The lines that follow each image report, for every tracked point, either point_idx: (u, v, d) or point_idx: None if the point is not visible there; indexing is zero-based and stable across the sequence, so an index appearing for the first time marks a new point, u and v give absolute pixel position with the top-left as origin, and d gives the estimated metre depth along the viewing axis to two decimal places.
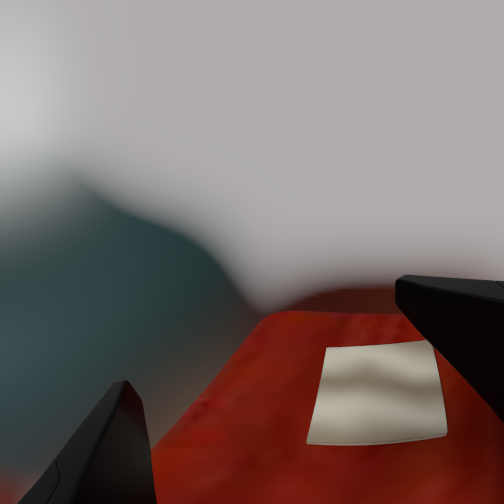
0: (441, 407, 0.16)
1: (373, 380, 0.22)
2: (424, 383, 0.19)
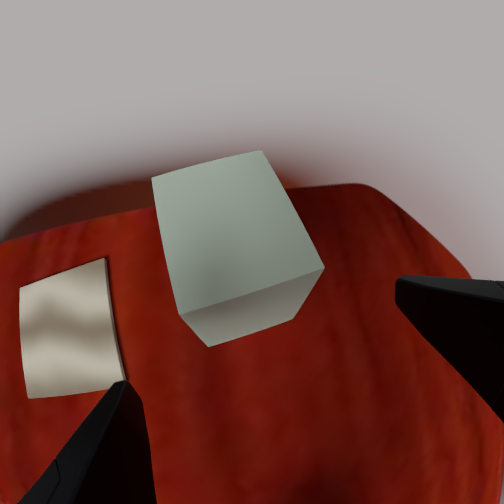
0: (114, 353, 0.19)
1: (53, 323, 0.20)
2: (95, 322, 0.20)
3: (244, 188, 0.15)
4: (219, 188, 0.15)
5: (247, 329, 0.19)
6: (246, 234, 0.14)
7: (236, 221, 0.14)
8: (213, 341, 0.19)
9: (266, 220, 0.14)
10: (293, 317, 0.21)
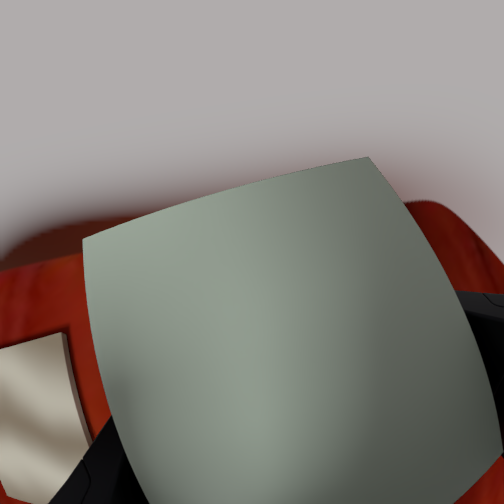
0: None
1: (12, 418, 0.10)
2: (63, 432, 0.10)
3: (363, 283, 0.05)
4: (290, 285, 0.05)
5: None
6: (383, 442, 0.03)
7: (356, 408, 0.04)
8: None
9: (427, 387, 0.04)
10: None
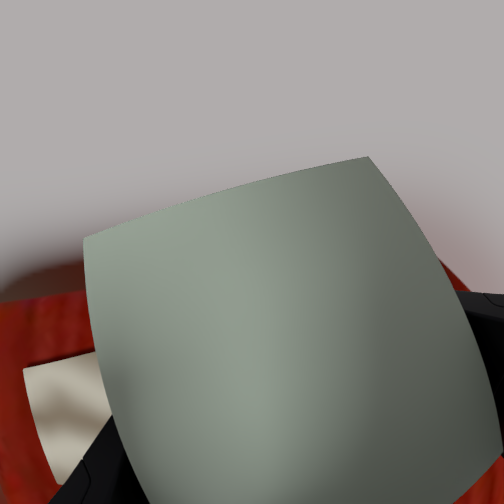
0: None
1: (70, 416, 0.16)
2: None
3: (363, 282, 0.05)
4: (290, 285, 0.05)
5: None
6: (383, 441, 0.03)
7: (356, 407, 0.04)
8: None
9: (428, 386, 0.04)
10: None
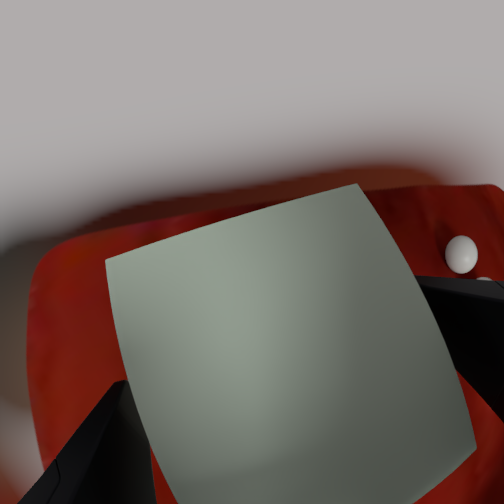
0: None
1: None
2: None
3: (345, 300, 0.06)
4: (284, 301, 0.06)
5: None
6: (361, 432, 0.04)
7: (337, 402, 0.05)
8: None
9: (400, 387, 0.05)
10: None
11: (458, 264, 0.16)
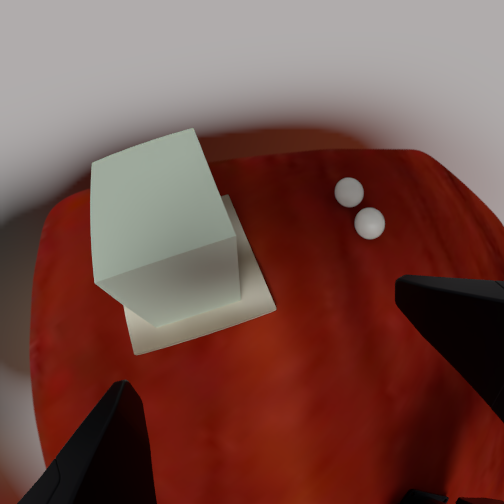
0: (259, 279, 0.22)
1: None
2: None
3: (168, 164, 0.15)
4: (146, 166, 0.15)
5: (188, 308, 0.19)
6: (162, 206, 0.13)
7: (155, 195, 0.14)
8: (157, 320, 0.19)
9: (183, 192, 0.14)
10: (240, 298, 0.21)
11: (341, 197, 0.25)
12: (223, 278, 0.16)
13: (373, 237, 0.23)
